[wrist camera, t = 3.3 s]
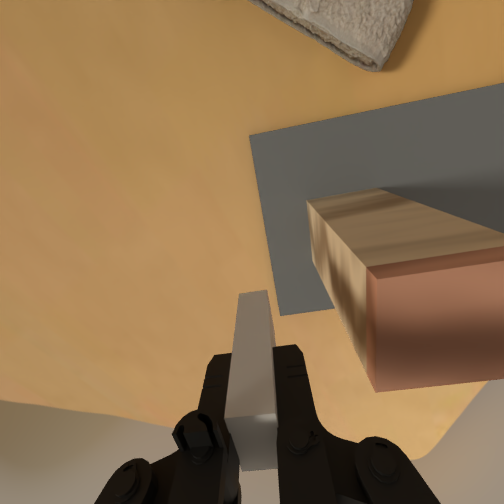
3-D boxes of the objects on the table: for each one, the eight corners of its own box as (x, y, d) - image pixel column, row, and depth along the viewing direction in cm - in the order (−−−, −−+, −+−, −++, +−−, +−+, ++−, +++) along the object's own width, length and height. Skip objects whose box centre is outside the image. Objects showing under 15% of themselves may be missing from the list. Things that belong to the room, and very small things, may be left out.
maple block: (306, 200, 22) (377, 279, 9) (376, 187, 21) (557, 252, 8) (312, 260, 24) (375, 392, 11) (375, 250, 24) (517, 377, 11)
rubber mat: (249, 135, 20) (249, 135, 20) (583, 66, 18) (593, 64, 18) (279, 312, 27) (280, 316, 27) (524, 278, 25) (530, 281, 25)
